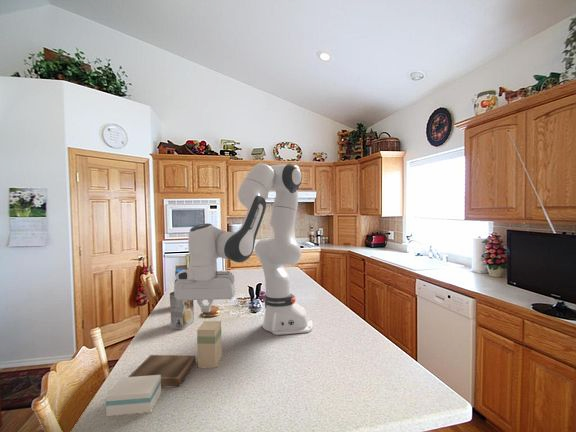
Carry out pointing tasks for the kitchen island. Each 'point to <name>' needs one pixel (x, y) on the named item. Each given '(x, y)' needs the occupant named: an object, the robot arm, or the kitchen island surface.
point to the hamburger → (212, 312)
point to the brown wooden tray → (166, 368)
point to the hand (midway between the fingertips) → (206, 311)
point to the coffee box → (181, 312)
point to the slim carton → (209, 344)
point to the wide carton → (133, 395)
